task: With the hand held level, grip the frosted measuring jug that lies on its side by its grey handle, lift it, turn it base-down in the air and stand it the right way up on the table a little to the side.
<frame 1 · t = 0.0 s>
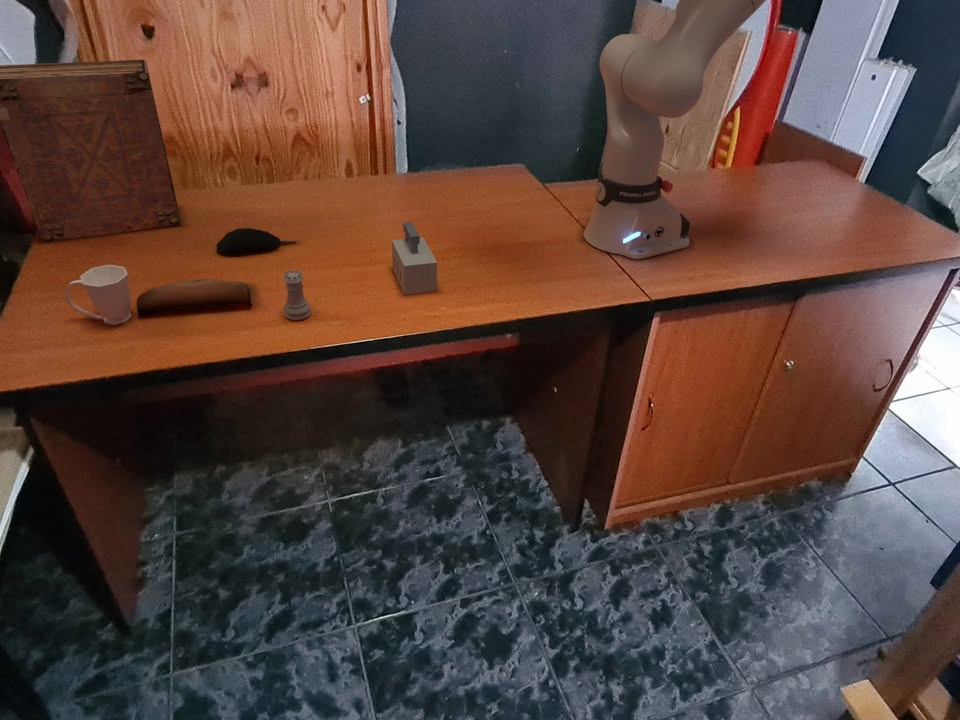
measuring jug: (420, 278, 123), point 3 cm above the table
rook chess piece: (298, 315, 117), on the table
book: (114, 225, 140), on the table
cup: (107, 318, 113), on the table
sunglasses case: (198, 302, 119), on the table
gaming mouse: (257, 248, 135), on the table
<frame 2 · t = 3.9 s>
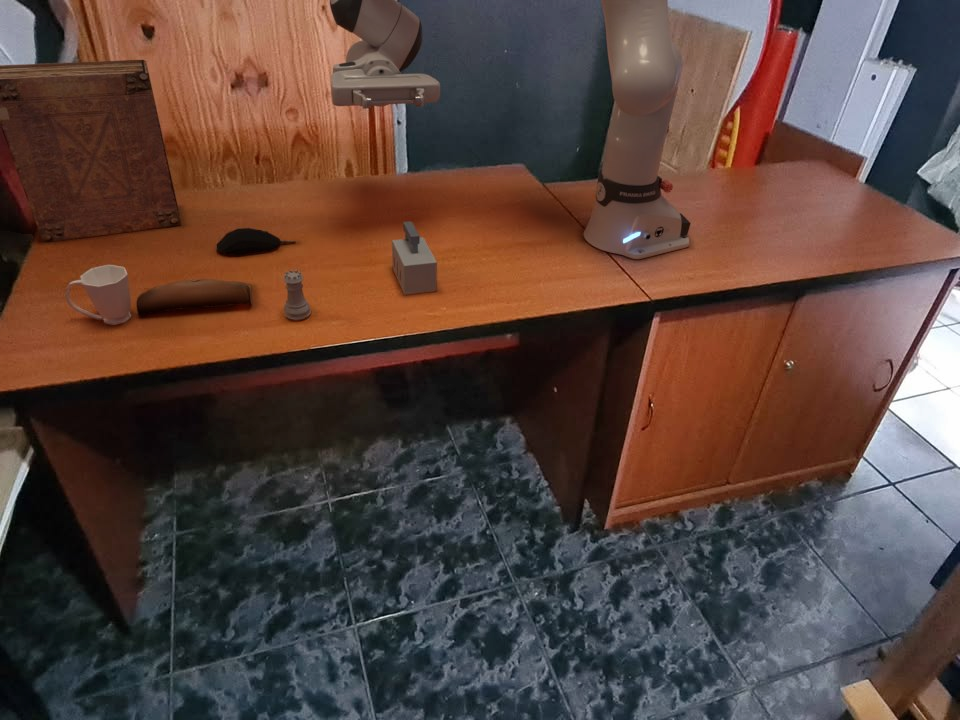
hand: (394, 103, 123), 28 cm above the table, tool horizontal, fingers open, 8 cm apart
nothing on the table moved.
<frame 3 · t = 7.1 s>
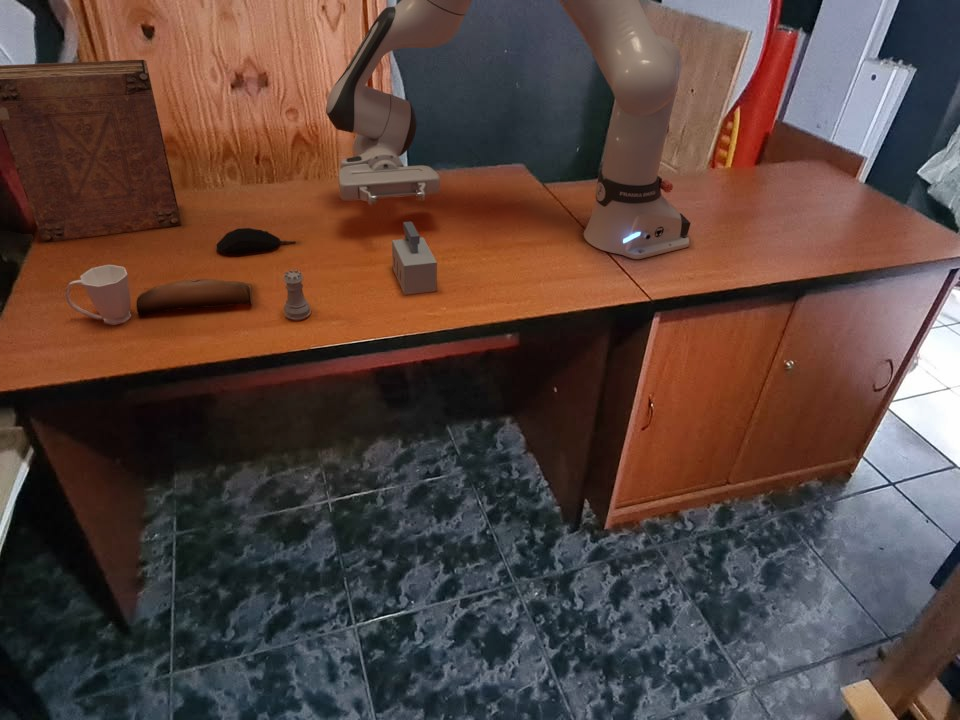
hand: (397, 199, 132), 10 cm above the table, tool horizontal, fingers open, 8 cm apart
nothing on the table moved.
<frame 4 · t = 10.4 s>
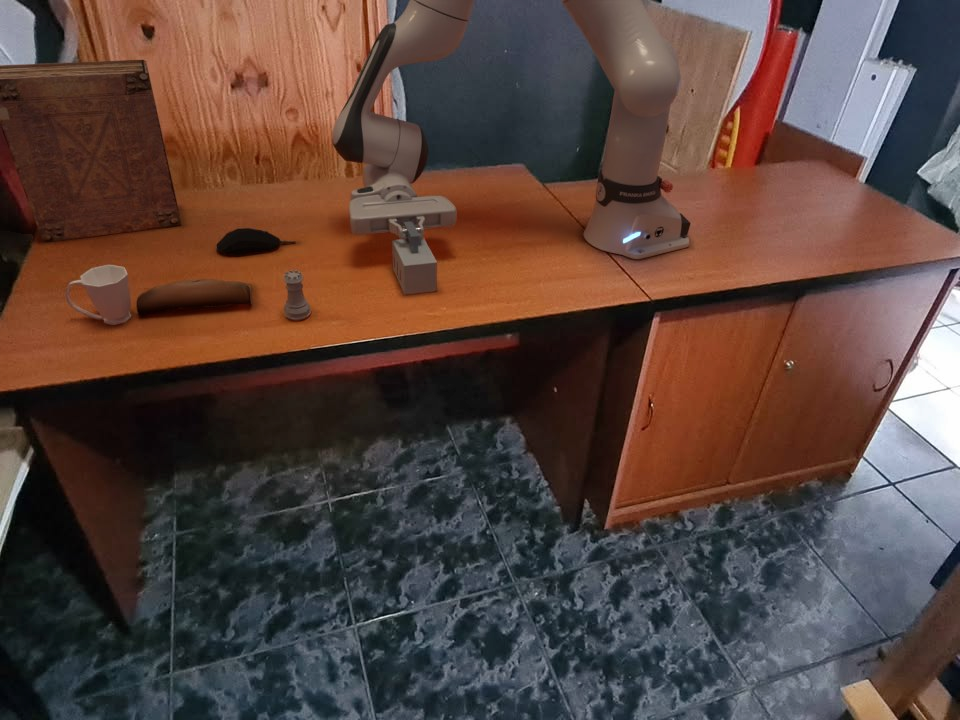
hand: (411, 233, 125), 9 cm above the table, tool horizontal, fingers closed on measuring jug
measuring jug: (420, 278, 123), point 3 cm above the table, touching gripper
everything else where it was.
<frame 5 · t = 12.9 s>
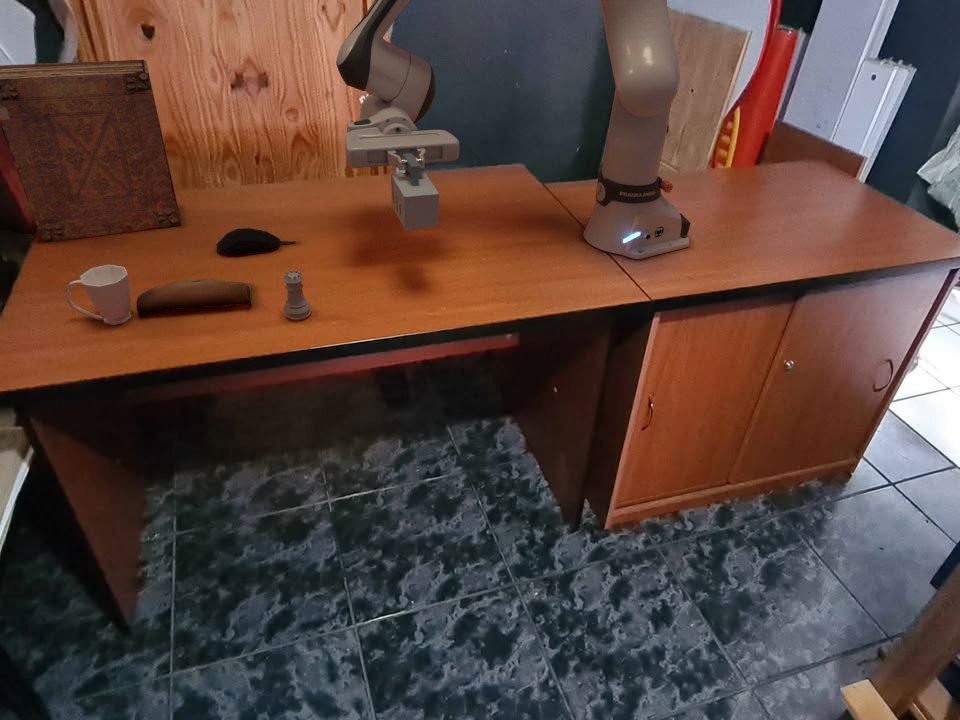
hand: (412, 165, 117), 21 cm above the table, tool horizontal, fingers closed on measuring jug
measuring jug: (421, 212, 115), point 16 cm above the table, touching gripper
everything else where it was.
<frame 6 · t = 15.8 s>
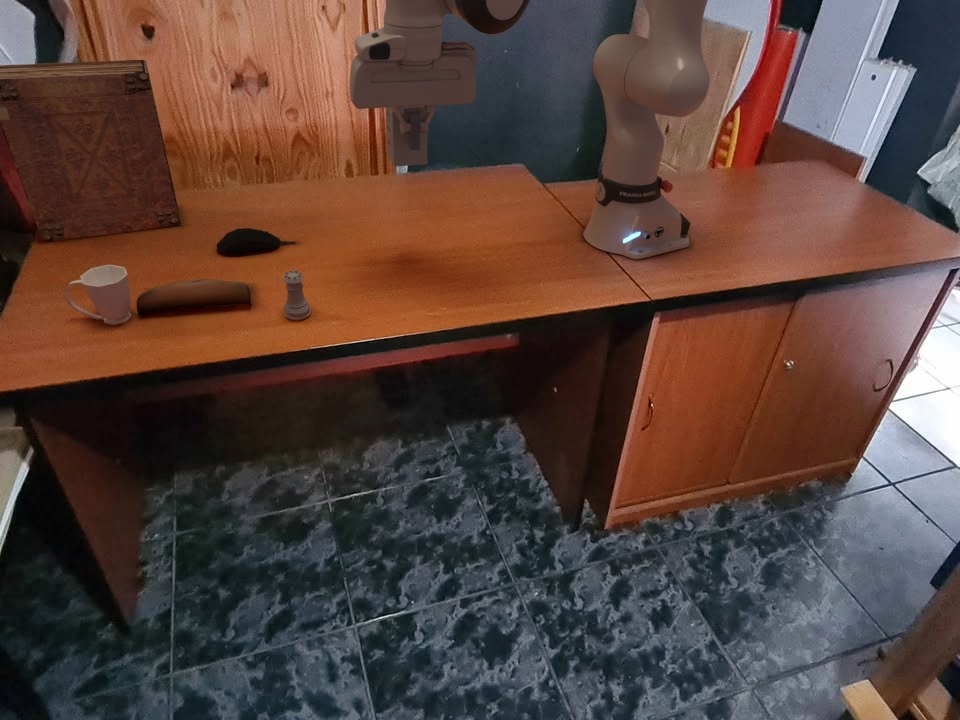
hand: (414, 132, 114), 27 cm above the table, tool pointing down, fingers closed on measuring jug
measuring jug: (406, 159, 123), point 20 cm above the table, tilted 90°, touching gripper
everything else where it was.
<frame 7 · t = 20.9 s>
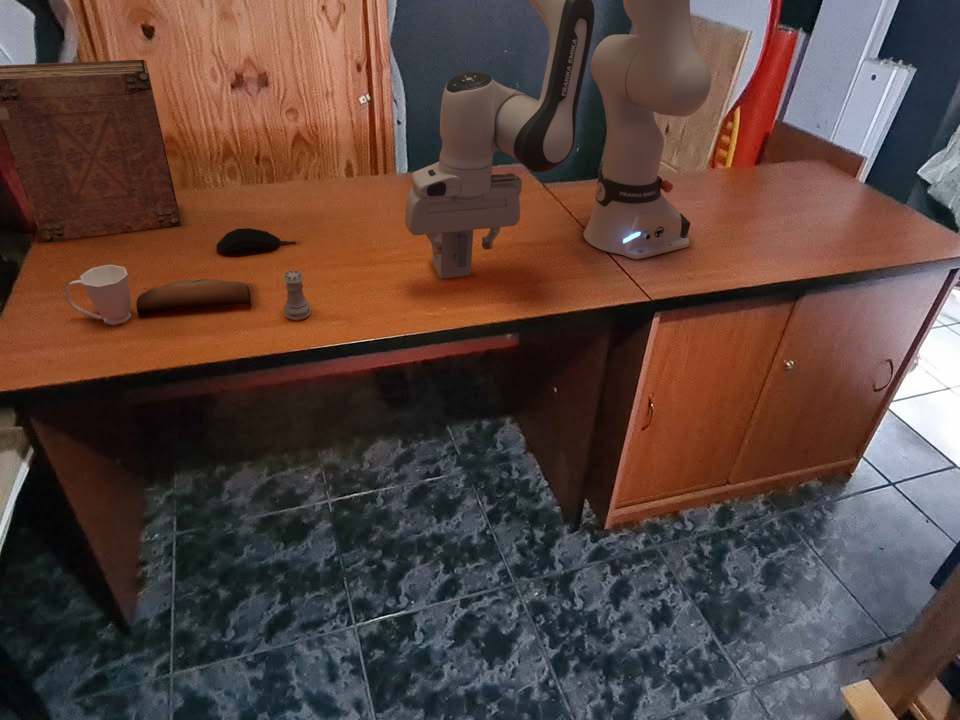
hand: (462, 250, 124), 7 cm above the table, tool pointing down, fingers open, 8 cm apart
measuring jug: (451, 269, 132), on the table, tilted 90°
everything else where it was.
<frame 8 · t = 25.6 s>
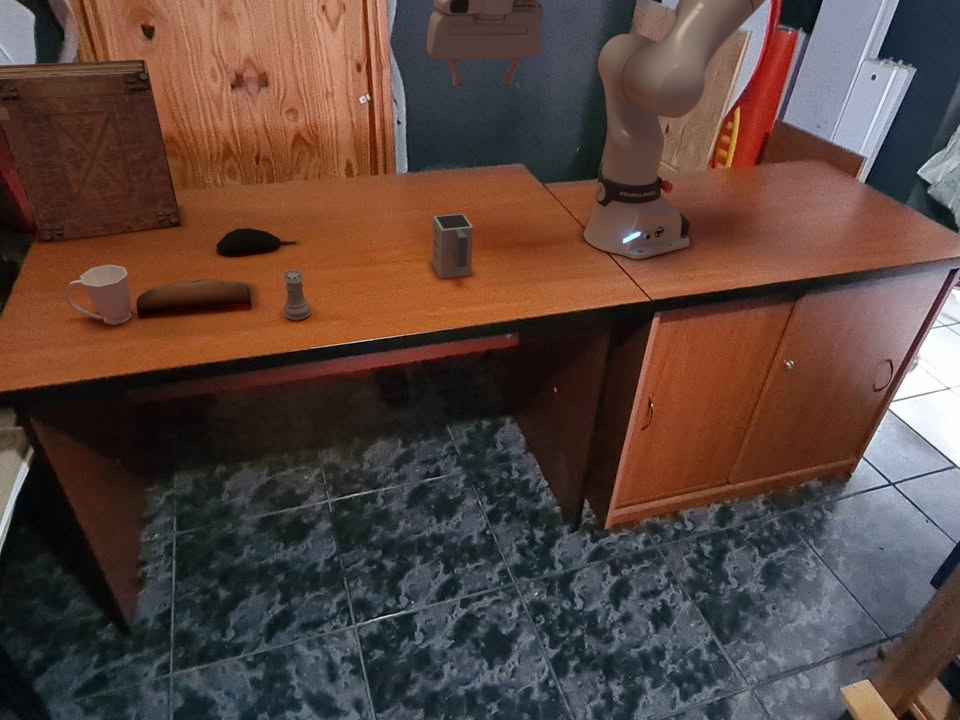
hand: (482, 84, 124), 31 cm above the table, tool pointing down, fingers open, 8 cm apart
nothing on the table moved.
at the end: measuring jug inside the target area (0.1 cm from its centre), on the table; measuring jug tilted 90°; the gripper is holding nothing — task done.
